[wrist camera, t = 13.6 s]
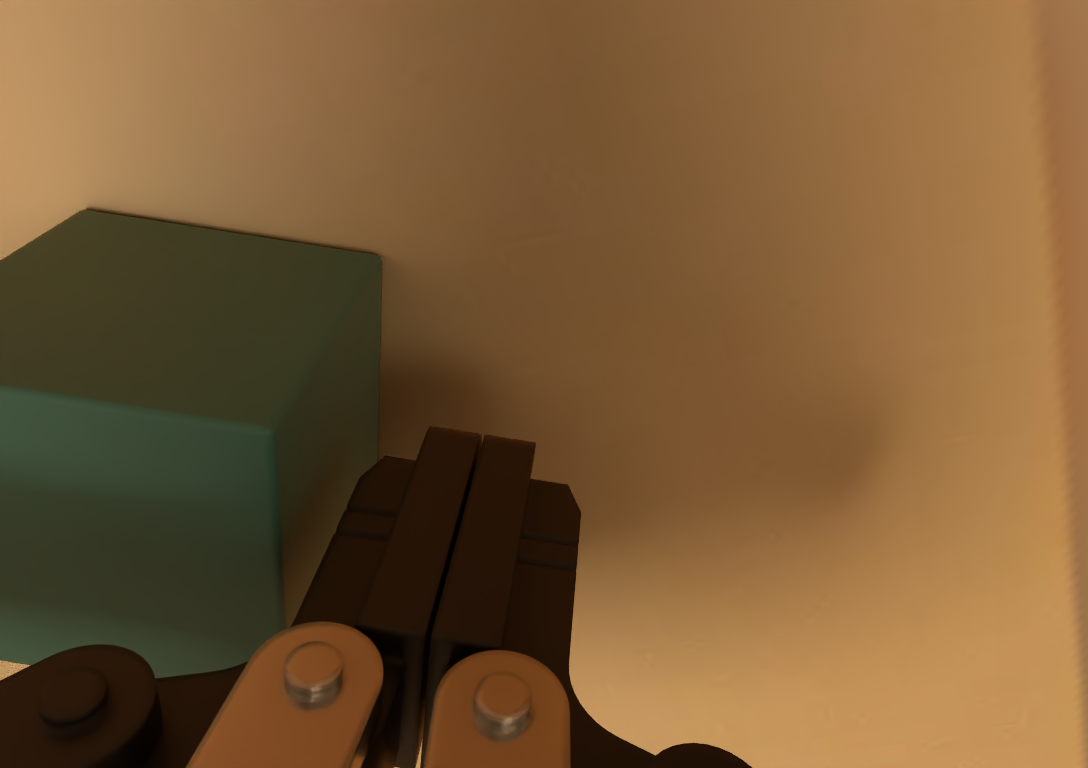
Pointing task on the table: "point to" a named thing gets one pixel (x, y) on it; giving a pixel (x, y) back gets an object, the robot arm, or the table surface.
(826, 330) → the table surface
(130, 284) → the teal block
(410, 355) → the table surface
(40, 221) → the table surface
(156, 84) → the table surface
